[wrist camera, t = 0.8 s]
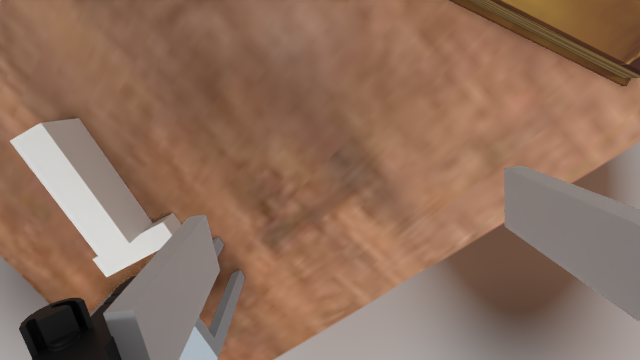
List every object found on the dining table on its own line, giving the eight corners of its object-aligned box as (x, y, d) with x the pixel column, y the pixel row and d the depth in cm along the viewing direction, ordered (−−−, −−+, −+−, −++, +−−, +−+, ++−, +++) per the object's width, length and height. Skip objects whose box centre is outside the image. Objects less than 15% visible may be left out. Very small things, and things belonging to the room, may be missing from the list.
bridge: (111, 292, 42) (26, 380, 29) (218, 236, 41) (178, 303, 28) (141, 329, 43) (71, 429, 31) (245, 277, 42) (218, 358, 29)
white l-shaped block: (31, 145, 37) (-15, 154, 32) (100, 105, 37) (65, 108, 31) (120, 264, 41) (93, 290, 36) (185, 230, 40) (167, 251, 35)
